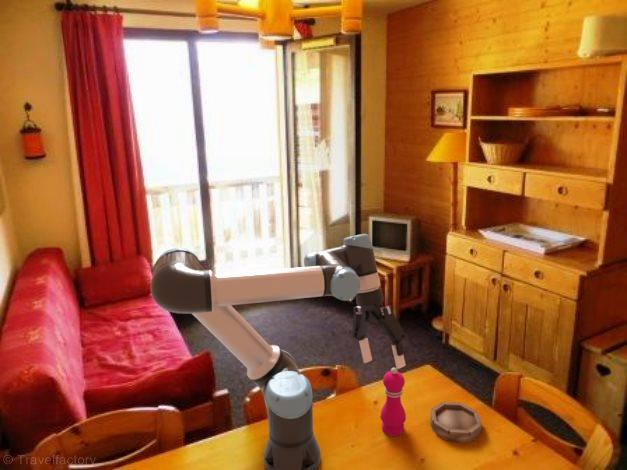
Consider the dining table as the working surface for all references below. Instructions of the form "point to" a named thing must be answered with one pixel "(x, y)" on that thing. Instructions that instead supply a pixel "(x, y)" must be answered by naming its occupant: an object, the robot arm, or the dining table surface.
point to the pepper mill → (393, 404)
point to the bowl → (455, 422)
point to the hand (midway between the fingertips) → (383, 364)
